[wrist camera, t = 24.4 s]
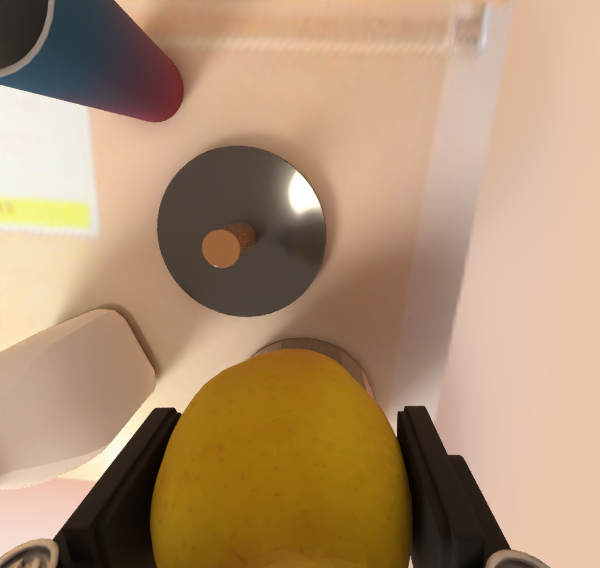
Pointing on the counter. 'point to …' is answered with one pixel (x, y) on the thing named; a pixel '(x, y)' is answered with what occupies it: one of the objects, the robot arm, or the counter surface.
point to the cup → (86, 57)
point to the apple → (282, 473)
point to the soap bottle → (68, 395)
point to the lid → (241, 231)
